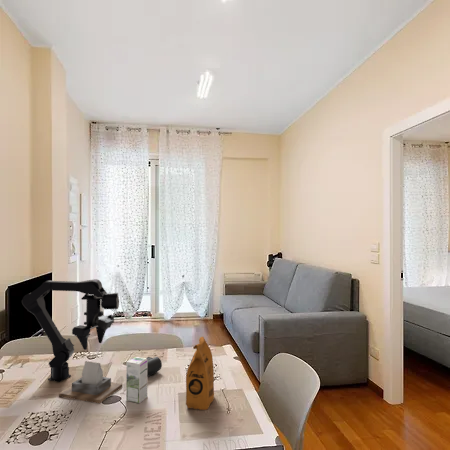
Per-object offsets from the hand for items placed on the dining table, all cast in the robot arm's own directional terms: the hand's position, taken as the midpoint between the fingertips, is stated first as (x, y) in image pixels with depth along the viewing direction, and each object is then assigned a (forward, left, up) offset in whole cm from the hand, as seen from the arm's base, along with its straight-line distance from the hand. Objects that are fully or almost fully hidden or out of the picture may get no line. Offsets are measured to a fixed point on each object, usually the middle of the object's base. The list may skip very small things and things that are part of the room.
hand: (93, 346), depth 146 cm
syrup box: (+29, -12, -13) cm, 34 cm away
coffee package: (+52, -7, -13) cm, 54 cm away
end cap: (+22, +8, -13) cm, 27 cm away
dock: (+9, -12, -13) cm, 19 cm away
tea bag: (+9, -11, -12) cm, 19 cm away
